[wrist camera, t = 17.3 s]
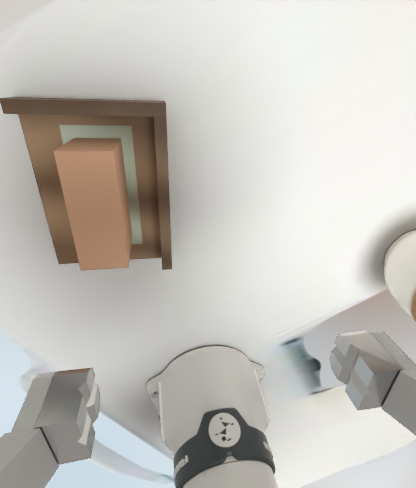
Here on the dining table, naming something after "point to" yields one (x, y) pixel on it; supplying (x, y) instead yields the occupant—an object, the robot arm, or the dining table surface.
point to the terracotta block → (96, 201)
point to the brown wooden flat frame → (134, 153)
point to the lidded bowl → (402, 271)
